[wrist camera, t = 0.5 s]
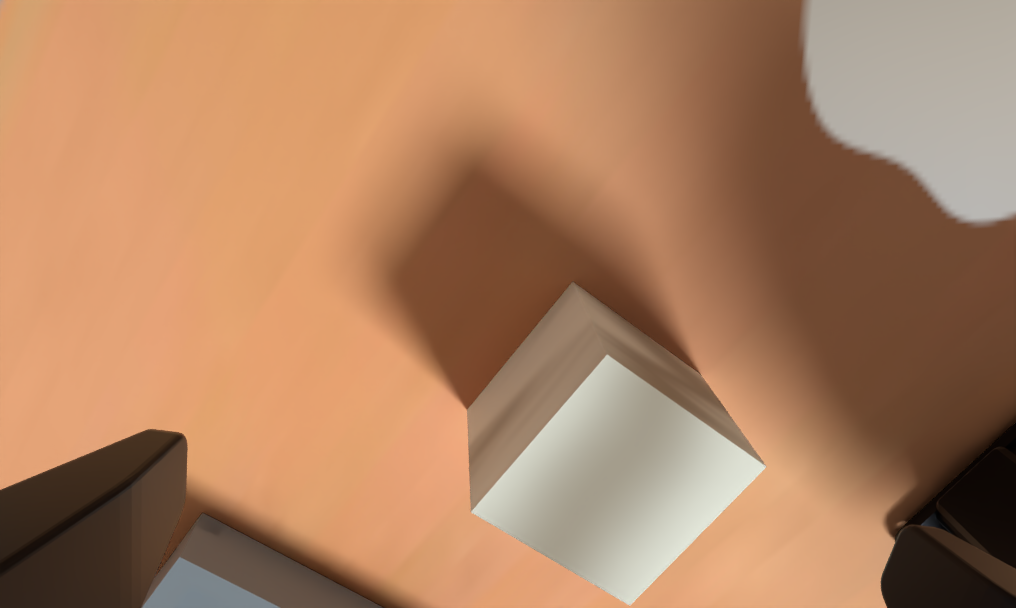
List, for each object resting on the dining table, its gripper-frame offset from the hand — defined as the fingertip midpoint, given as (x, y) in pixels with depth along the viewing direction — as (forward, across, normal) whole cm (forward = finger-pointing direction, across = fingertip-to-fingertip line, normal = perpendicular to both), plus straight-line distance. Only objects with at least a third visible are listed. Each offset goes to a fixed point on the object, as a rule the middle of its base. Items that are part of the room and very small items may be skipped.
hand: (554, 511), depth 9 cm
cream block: (+12, -3, +4) cm, 13 cm away
